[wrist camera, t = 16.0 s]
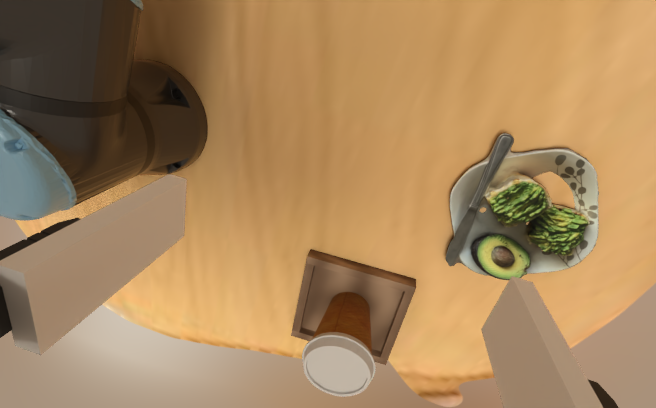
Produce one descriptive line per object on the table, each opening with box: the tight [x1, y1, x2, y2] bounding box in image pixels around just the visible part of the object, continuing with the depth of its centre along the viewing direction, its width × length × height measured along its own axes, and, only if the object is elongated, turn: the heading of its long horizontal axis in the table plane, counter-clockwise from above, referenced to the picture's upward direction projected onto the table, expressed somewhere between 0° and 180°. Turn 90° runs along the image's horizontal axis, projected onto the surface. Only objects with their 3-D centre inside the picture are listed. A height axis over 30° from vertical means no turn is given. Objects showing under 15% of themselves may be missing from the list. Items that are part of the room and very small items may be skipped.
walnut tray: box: [291, 250, 416, 365], centre depth 53 cm, size 16×16×2 cm
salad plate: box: [446, 133, 599, 280], centre depth 41 cm, size 19×18×5 cm
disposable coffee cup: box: [302, 292, 375, 396], centre depth 48 cm, size 10×10×12 cm
